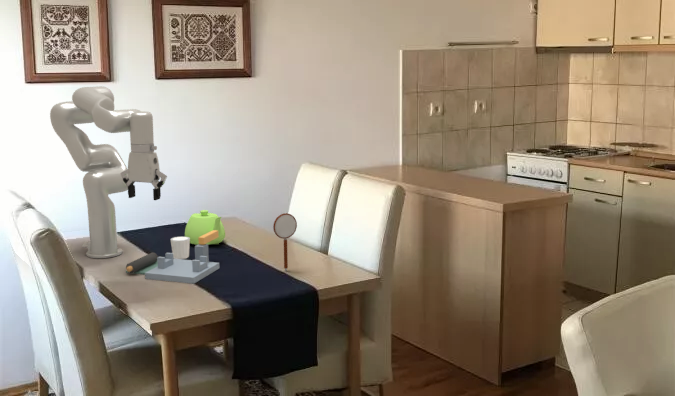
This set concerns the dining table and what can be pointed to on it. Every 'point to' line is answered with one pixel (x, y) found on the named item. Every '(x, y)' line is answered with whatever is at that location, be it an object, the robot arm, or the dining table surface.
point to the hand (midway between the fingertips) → (144, 198)
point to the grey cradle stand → (183, 267)
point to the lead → (141, 263)
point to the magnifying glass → (285, 231)
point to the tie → (208, 237)
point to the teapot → (204, 227)
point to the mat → (146, 268)
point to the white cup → (180, 247)
